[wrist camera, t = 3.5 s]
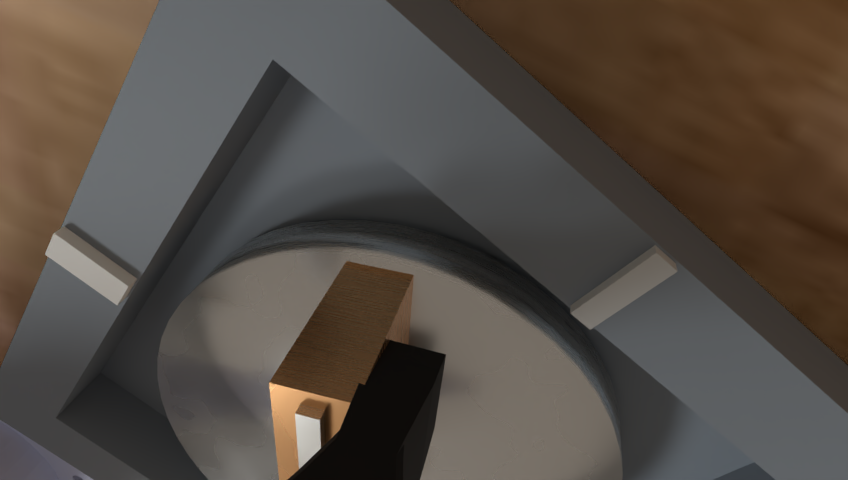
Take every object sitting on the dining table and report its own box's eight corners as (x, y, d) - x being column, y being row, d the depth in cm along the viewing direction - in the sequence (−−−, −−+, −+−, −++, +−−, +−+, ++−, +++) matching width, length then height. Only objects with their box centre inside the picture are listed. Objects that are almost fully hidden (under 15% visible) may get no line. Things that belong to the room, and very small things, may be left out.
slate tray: (441, 623, 23) (425, 703, 21) (43, 355, 20) (-26, 415, 18) (930, 441, 13) (1000, 556, 11) (295, -141, 10) (211, -147, 8)
